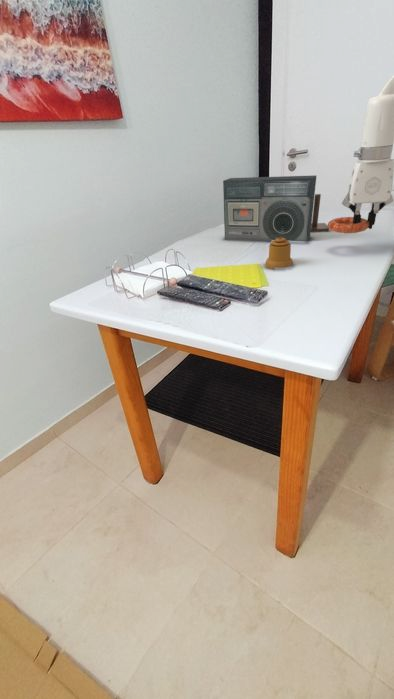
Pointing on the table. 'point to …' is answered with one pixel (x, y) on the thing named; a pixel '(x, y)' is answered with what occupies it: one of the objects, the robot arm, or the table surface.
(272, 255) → the ornamental finial
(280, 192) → the cassette player
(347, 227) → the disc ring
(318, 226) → the wooden bookend
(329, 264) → the table surface
